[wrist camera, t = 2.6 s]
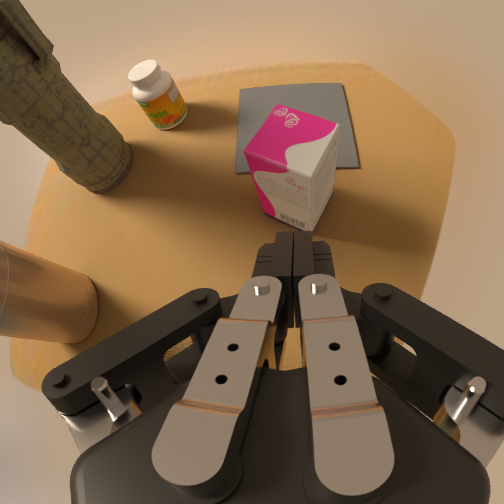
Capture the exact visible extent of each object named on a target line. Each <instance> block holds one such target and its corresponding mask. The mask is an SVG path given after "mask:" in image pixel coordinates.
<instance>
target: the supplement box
mask: <svg viewBox="0 0 504 504" xmlns="http://www.w3.org/2000/svg"><path fill="white" fill-rule="evenodd" d="M339 127H340V125H339V124H337V123H334V122H332V121H329V120H326V119H323V118H320V117H317V116H314V115H311V114H308V113H305V112H302V111H299V110H296V109H292V108H289V107H286V106H282V105H279V104H277V105H276V106H275V107H274V109H273V110H272V111H271V113H270V114H269V116H268V117H267V119H266V120H265V122H264V123H263V125H262V126H261V127H260V129H259V130H258V131H257V133H256V134H255V136H254V137H253V138H252V140H251V141H250V142H249V144H248V145H247V147H246V148H245V150H244V154H245V157H246V160H247V163H248V166H249V169H250V171H251V174H252V177H253V181H254V184H255V186H256V190H257V193H258V196H259V198H260V201H261V205H262V208H263V211H264V213H265V214H266V215H268V216H270V217H272V218H274V219H277V220H279V221H281V222H283V223H285V224H287V225H289V226H292V227H294V228H296V229H298V230H300V231H311V233H312V232H313V230H314V229H315V227H316V225H317V223H318V221H319V219H320V217H321V215H322V213H323V211H324V209H325V207H326V206H327V204H328V202H329V200H330V198H331V196H332V194H333V188H334V178H335V169H336V160H337V149H338V139H339Z"/></svg>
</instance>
